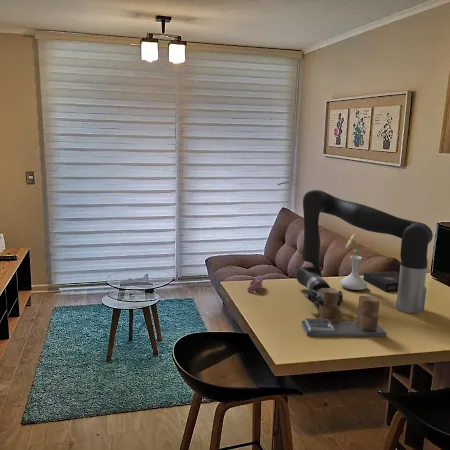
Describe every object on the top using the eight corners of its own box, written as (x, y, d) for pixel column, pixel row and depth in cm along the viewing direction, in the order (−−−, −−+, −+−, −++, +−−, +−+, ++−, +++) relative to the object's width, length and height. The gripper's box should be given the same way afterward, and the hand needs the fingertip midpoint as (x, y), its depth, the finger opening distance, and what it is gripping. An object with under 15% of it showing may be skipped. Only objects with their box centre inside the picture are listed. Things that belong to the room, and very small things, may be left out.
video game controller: (255, 296, 190) (264, 282, 189) (246, 291, 191) (254, 277, 189) (258, 289, 200) (266, 276, 198) (249, 283, 200) (257, 270, 198)
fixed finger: (371, 324, 159) (374, 296, 157) (376, 330, 154) (379, 301, 152) (355, 323, 158) (358, 295, 156) (360, 329, 153) (363, 300, 151)
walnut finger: (332, 314, 170) (335, 288, 168) (336, 319, 165) (339, 292, 163) (318, 314, 170) (320, 288, 168) (322, 319, 165) (324, 292, 163)
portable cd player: (385, 293, 198) (386, 284, 197) (363, 281, 214) (363, 272, 213) (418, 291, 202) (419, 282, 202) (393, 279, 218) (394, 271, 218)
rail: (375, 325, 161) (376, 319, 160) (385, 336, 152) (386, 329, 152) (301, 324, 159) (301, 317, 159) (307, 335, 151) (307, 328, 150)
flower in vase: (345, 282, 209) (350, 227, 205) (370, 287, 203) (376, 231, 198) (334, 289, 199) (339, 231, 194) (360, 295, 192) (365, 236, 188)
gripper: (300, 278, 179) (311, 293, 163) (337, 279, 180) (351, 293, 163) (299, 296, 181) (309, 313, 164) (336, 297, 181) (349, 314, 165)
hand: (330, 303), depth 164 cm, fingers open, 5 cm apart
